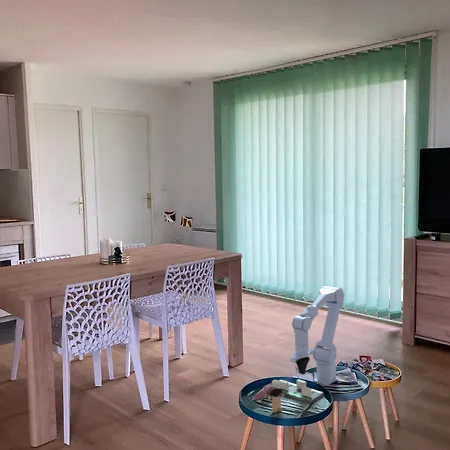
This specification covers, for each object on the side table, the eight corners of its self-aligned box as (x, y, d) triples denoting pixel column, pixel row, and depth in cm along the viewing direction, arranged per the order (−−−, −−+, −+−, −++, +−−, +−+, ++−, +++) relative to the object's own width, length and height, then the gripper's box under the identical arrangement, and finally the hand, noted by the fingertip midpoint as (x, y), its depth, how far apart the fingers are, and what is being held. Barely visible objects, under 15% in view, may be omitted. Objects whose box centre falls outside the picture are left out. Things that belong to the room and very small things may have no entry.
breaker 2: (303, 393, 219) (303, 386, 218) (311, 396, 216) (311, 388, 216) (301, 394, 217) (301, 387, 217) (309, 397, 215) (309, 389, 214)
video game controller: (260, 406, 216) (266, 393, 213) (251, 399, 218) (257, 386, 215) (272, 397, 223) (278, 385, 221) (264, 391, 226) (270, 379, 223)
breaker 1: (281, 386, 227) (280, 379, 226) (288, 388, 224) (288, 381, 224) (278, 387, 226) (278, 380, 225) (286, 390, 223) (286, 382, 223)
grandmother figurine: (278, 406, 211) (278, 376, 210) (285, 409, 208) (285, 378, 207) (265, 411, 206) (265, 381, 205) (272, 414, 203) (272, 384, 202)
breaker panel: (287, 385, 233) (287, 381, 233) (323, 395, 220) (323, 392, 220) (273, 392, 225) (273, 389, 225) (309, 404, 212) (309, 400, 212)
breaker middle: (298, 386, 226) (298, 379, 226) (306, 388, 224) (306, 381, 223) (296, 387, 225) (296, 380, 225) (304, 389, 222) (304, 382, 222)
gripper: (303, 337, 231) (303, 366, 232) (284, 345, 221) (285, 376, 222) (316, 340, 227) (317, 370, 228) (298, 349, 216) (298, 380, 217)
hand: (302, 373), depth 224 cm, fingers closed
